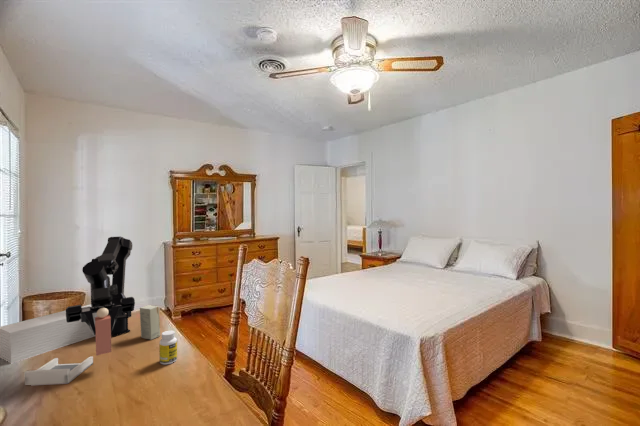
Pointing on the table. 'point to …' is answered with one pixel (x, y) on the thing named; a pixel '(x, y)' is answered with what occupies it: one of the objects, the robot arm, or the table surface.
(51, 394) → the table surface
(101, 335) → the foosball player
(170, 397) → the table surface
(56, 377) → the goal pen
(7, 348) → the ridged white long block
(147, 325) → the skincare box
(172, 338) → the supplement bottle
